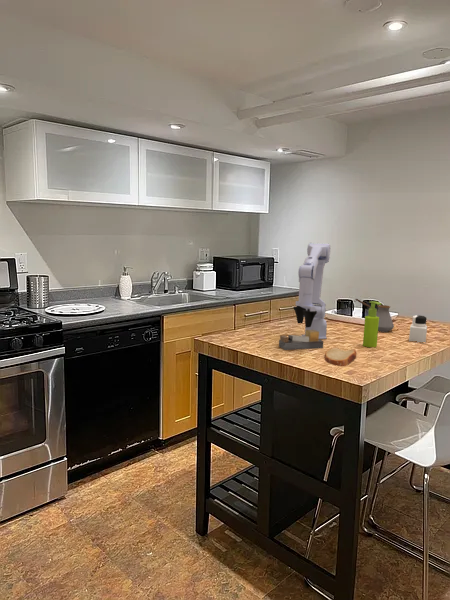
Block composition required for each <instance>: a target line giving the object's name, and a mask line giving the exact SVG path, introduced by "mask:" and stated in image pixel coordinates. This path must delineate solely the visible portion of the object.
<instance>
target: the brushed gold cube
mask: <svg viewBox="0 0 450 600" xmlns="http://www.w3.org/2000/svg"><path fill="white" fill-rule="evenodd" d="M304 335H305V336H309V341H318V340H319V332H318V331H316V330H306V334H305V333H304Z"/></svg>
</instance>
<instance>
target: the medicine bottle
mask: <svg viewBox="0 0 450 600" xmlns="http://www.w3.org/2000/svg"><path fill="white" fill-rule="evenodd" d="M427 333H428V326H427V316H425V315H421V314H420V315H419V314H418V315H417V314H416V315H413V316H412V322H411V324H410V326H409V337H408V342H410V341H417V342H416V343H418V342H425V343H426V341H427Z"/></svg>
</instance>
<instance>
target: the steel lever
mask: <svg viewBox="0 0 450 600" xmlns="http://www.w3.org/2000/svg"><path fill="white" fill-rule="evenodd" d="M287 337H288V338H289V339H288V340H289V341H303V342H309V336H301V335H297V334H296V335H295V334H294V335H293V334H289V335H287Z"/></svg>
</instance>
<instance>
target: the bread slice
mask: <svg viewBox="0 0 450 600" xmlns="http://www.w3.org/2000/svg"><path fill="white" fill-rule="evenodd" d="M324 358H325V359H324V360H325V362H326V361H327V363H328V364H329V365H333V366H336V365H337V367H346V366H348V365H350V364H351V363H352V362H354V360H355V359H356V358H357V351H356V349H355V348H351V349H347V350H344V349H341V348H339V347H336V346H334V347H331V348H329V349H328V350H326V351H325V353H324Z"/></svg>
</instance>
